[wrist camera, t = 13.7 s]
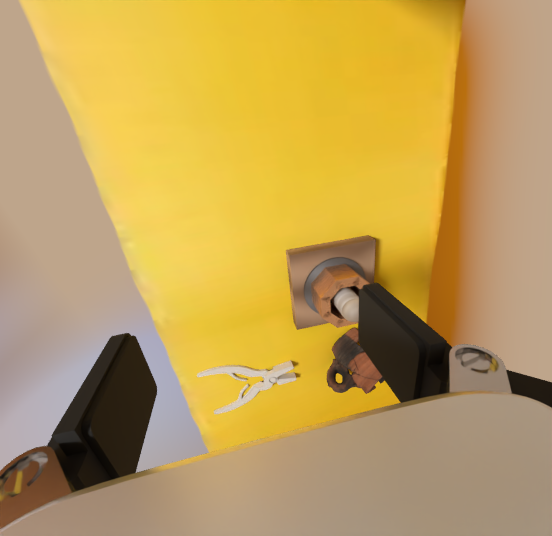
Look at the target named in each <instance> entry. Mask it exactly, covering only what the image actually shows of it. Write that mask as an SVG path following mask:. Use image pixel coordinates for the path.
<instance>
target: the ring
mask: <svg viewBox="0 0 552 536" xmlns="http://www.w3.org/2000/svg"><path fill="white" fill-rule="evenodd" d="M366 284H370V283H369V282H367V281H366V280H365V279H364V278H363V277H362V276H361V275H360V274H358V273H357V272H356V271H354V270H353V269H352V268H350V267H349V266H348V265H346V264H341V265H335V266H330V267H325V268H324V269H323V270H322V271H321V273H320V274H319V275H318V276H317V277H316V278H315V280H314V281H313V282H312V283H311V291H312V302H313V304H314V306H315V307H316V309H317V311H318V312H319V314H320V316H321V317H322V318H323V319H324V320H326V321H328V322H329V323H331V324H333V325H334V326H336V327H337V328H338V327H342V326H347V325H352V324H356V323H358V322H350V321H348V320H346V319H345V318H344V317H343V316H342V314H341V313H340V312H339V310H338V309H337V308H336V306H335V305H334V303H330V300H331V299H332V297H333V296H334V295H335V294H336V293H337V292H338V291H339V290H340V288H345V287H350V286H351V289H352V290H353V291H354V292H355V294H356V295H357V296H358V297H359V290H360V289H362V287H363V285H366Z"/></svg>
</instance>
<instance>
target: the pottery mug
mask: <svg viewBox="0 0 552 536" xmlns="http://www.w3.org/2000/svg"><path fill="white" fill-rule="evenodd" d="M358 341H359V340H358V330H357V329H356V328H352V329H350V330H349V331H348V332H347V333H345V334H344V335H343V336H342V337H341V338H339V339H338V341H336V343H335V344H334V346H333V348H332V351H333V353H334V356H335V357H336V359H333V363H332V365H331V366H330V368H329V370H328V372H327V382H328V386H329V387H331V388H332V389H333V390H334V391H335V392H338V393H343V392H345V391H347V390H348V389H350V388H351V387H355V386H356V387H358V388H362V389H363V390H364V392H365V393H366V394H367V393H369V392H371V391H372V390H374V389H375V388H376V387H375V384H376V383H377V382H378V381H379V382H380V383H382V382H383V381H385V380H384V378H383V377H382V375H381V374H380V373H379V371H378V370H377V368H376V367H375V366H374V364H373V363H372V361H371V360H370V359H369V357H368V356H367V354H366V353H365V352H364V350H363V349H362V347H361V346H359V345H358V344H357V343H358ZM348 369H350V370H351V371H352V372H353V373H352V375H350V374H349V370H348ZM337 373H339V374H341V375H342V377H343V379H342V380H343V381H342V383H337V382H336V374H337Z"/></svg>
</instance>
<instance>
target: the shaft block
mask: <svg viewBox="0 0 552 536" xmlns="http://www.w3.org/2000/svg"><path fill="white" fill-rule="evenodd" d="M375 242H376V240H375V239H374V238H372V237H370V236H369V235H367V236H362V237H356V238H351V239H345V240H340V241H334V242H329V243H323V244H317V245H312V246H306V247H301V248H295V249H290V250H286V255H287V264H288V273H289V282H290V291H291V300H292V310H293V319H294V323H295V326H296V328H297V330H298V329H303V328H307V327H312V326H317V325H321V324H326V323H329V322H328V321H326V320H324V319H323V318H322V317H321V316H320V314H319V312H318V311H317V309H316V307H315V306H314V304H313V302H312V291H311V283H312V282H313V281H314V280H315V278H316V277H317V276H318V275H319V274H320V273H321V271H322V270H323V269H324V268H325V267H330V266H335V265H341V264H346V265H348V266H349V267H350V268H352V269H353V270H354V271H356V272H357V273H358V274H360V275H361V276H362V277H363V278H364V279H365V280H366V281H367V282H369V283H370V284H371V283H374V266H375ZM330 303H334V305H335V306H336V308H337V309H338V310H339V312H340V313H341V314H342V316H343V317H344V318H345V319H346V320H348V321H350V322H358V321H359V297H358V296H357V295H356V294H355V292H354V291H353V290H352V289H351V286H350V287H345V288H340V290H339V291H338V292H337V293H336V294H335V295H334V296H333V297H332V299H331V300H330Z"/></svg>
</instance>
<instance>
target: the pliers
mask: <svg viewBox="0 0 552 536" xmlns="http://www.w3.org/2000/svg"><path fill="white" fill-rule="evenodd" d="M292 369H294V366H293V363H292V362H291V361H288V362H285V363H282V364H279V365H276V366H274V367H273V369H272V370H270V371H269V370H267V369H262V370H258V369H252V368H249V367H246V366H241V365H227V366H219V367H214V368H210V369H207V370H205V371H202V372H200V373H197V376H198V377H202V376H207V375H213V374H221V373H227V374H229V375H230V376H232V377H233V378H235V379H237V380H241V381H246V380H247V379H246V378H241V377H238V376H236V375H234V373H238V374H242V375H246V376H249V377H256V376H262V377H263V378H264V382H261V381H260V382H258V383H256V384H254V385H253V386H252V388H251V389H250V390H249V391H248V392H247V393H246V394H245V395H244V396H243V397H242V394H243V392H244V391H245V389H246V388H247V387H249V385H248V384H247V385H246V386H245V387H244V388H243V389H242V390H241V392H240V394H239V398H238V400H236V401H235V402H233V403H231V404H229V405H227V406H224V407H222V408H219V409H217V410H214V414H219V413H223V412H227V411H230V410H233V409H235V408H238V407H240V406H242V405H243V404H245V403H247V402H248V401H250V400H251V399H252V398H254V397H255V396H256V394H257V393H258V392H259V391H260V390H267V389H269V388H271V386H272V385H273V383H275V382H277V383H278V384H279V385H280V384H284V383H288V382H292V381H296V375H295V373H286V372H288V371H290V370H292ZM284 373H285V374H284Z"/></svg>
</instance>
